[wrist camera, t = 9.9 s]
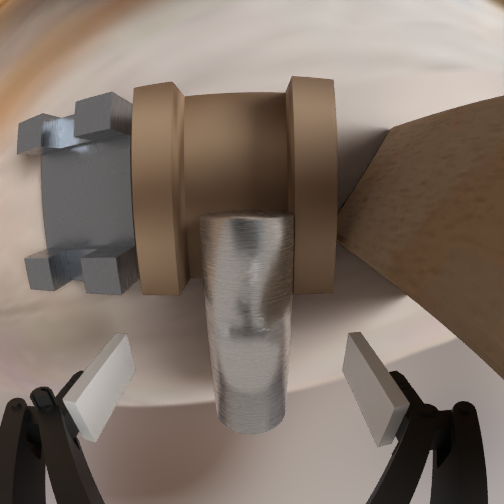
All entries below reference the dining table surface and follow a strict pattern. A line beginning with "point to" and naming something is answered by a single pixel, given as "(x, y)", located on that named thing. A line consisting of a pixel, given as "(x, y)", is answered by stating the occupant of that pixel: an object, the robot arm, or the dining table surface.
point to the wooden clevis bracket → (233, 175)
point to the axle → (248, 313)
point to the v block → (85, 196)
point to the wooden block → (439, 220)
